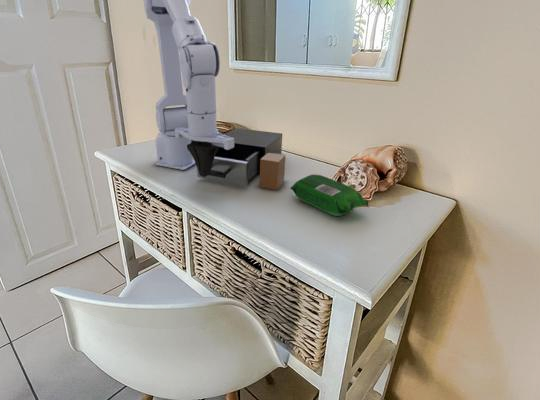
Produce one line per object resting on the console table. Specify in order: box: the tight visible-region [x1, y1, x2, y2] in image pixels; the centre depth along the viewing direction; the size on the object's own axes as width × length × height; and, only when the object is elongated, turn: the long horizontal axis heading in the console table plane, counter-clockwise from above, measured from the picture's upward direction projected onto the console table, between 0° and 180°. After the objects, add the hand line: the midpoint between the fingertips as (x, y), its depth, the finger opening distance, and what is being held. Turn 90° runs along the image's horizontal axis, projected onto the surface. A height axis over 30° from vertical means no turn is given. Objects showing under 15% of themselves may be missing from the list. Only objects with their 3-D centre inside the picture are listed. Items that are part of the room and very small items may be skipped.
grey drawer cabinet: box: [224, 127, 283, 175], centre depth 92 cm, size 13×14×7 cm
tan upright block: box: [259, 153, 286, 191], centre depth 78 cm, size 4×5×7 cm
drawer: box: [196, 146, 263, 187], centre depth 81 cm, size 17×13×6 cm
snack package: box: [290, 173, 370, 217], centre depth 69 cm, size 7×16×5 cm, turn 35°
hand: (205, 174), depth 72 cm, fingers closed
